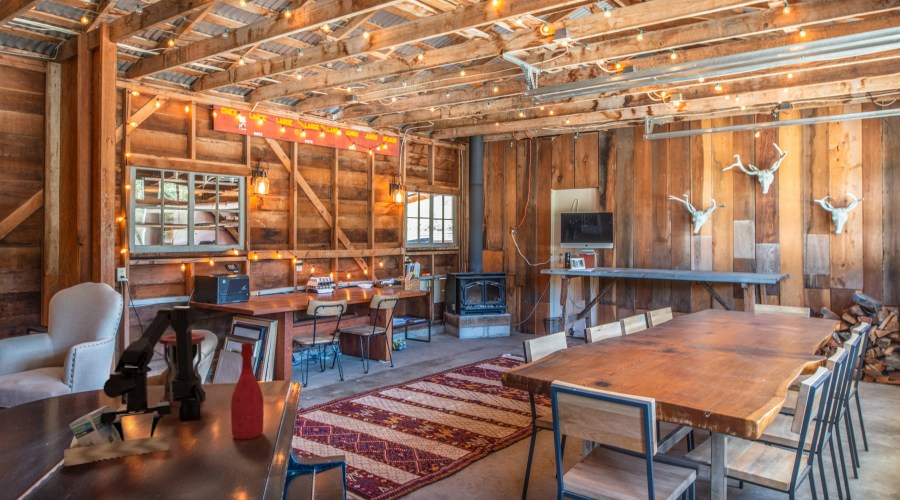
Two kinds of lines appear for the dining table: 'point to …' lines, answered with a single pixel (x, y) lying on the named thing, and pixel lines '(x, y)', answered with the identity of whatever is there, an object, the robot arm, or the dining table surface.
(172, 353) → the hourglass
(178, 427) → the dining table surface
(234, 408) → the wine bottle
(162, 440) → the wall board
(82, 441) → the light bulb box
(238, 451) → the dining table surface
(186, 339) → the robot arm
